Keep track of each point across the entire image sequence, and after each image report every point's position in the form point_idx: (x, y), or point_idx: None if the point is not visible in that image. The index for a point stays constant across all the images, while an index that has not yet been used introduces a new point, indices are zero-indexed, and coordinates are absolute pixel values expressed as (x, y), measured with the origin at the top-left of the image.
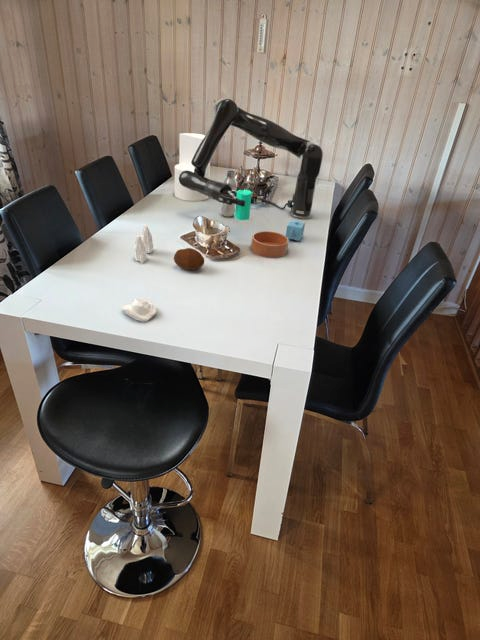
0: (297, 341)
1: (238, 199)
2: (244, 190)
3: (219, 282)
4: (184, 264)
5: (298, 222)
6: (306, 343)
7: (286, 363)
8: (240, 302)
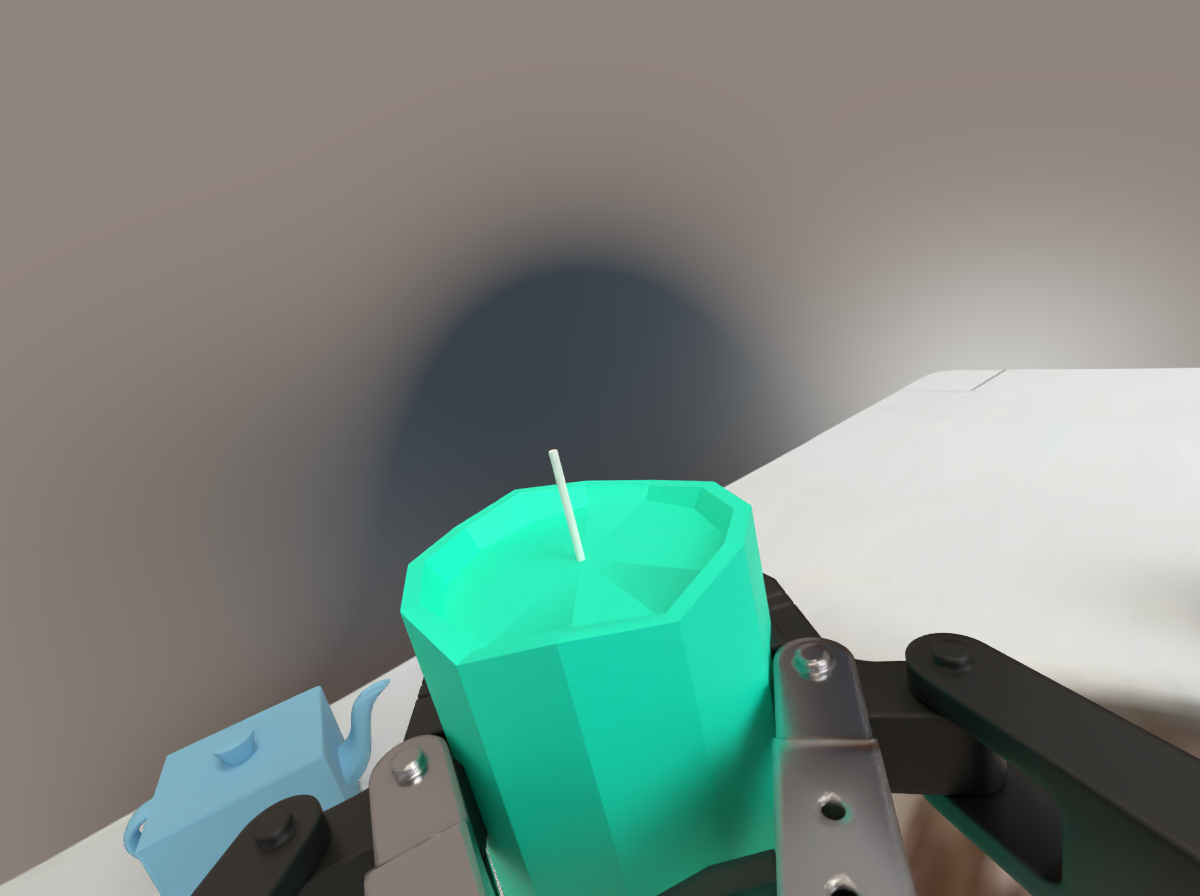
0: (915, 396)
1: (770, 619)
2: (569, 504)
3: (1166, 534)
4: None
5: (239, 727)
6: (896, 395)
7: (972, 372)
8: (1053, 458)
